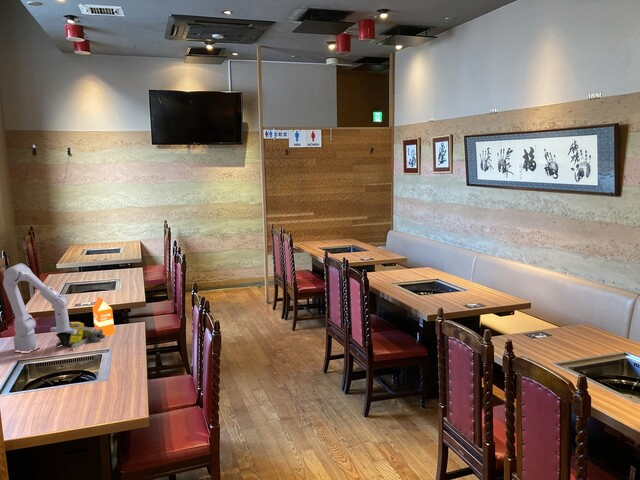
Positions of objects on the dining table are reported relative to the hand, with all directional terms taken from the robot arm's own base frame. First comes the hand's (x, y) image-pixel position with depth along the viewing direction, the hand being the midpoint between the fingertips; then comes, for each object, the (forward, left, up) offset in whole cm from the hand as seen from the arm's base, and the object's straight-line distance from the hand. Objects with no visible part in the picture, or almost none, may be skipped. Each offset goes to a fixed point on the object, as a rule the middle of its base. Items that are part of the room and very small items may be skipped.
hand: (65, 345), depth 251 cm
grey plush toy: (+1, +8, -1) cm, 8 cm away
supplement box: (0, +4, -1) cm, 4 cm away
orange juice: (+5, +23, -2) cm, 23 cm away
